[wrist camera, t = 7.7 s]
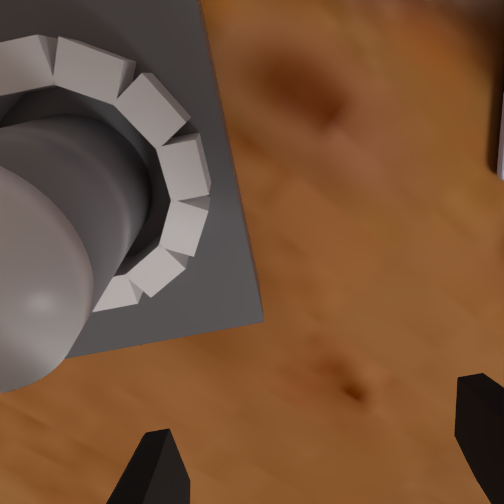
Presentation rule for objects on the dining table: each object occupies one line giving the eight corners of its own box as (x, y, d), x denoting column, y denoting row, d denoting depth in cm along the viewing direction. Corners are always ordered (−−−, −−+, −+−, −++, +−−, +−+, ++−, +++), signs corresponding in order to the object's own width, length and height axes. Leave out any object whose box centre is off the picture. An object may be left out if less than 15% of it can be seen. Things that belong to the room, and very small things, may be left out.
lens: (130, 103, 12) (19, 135, 6) (166, 241, 14) (112, 377, 8) (-18, 126, 12) (-288, 183, 6) (39, 260, 14) (-117, 409, 8)
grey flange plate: (184, -75, 13) (162, -145, 9) (259, 285, 19) (267, 344, 15) (-103, -11, 13) (-255, -49, 9) (60, 322, 19) (13, 391, 15)
